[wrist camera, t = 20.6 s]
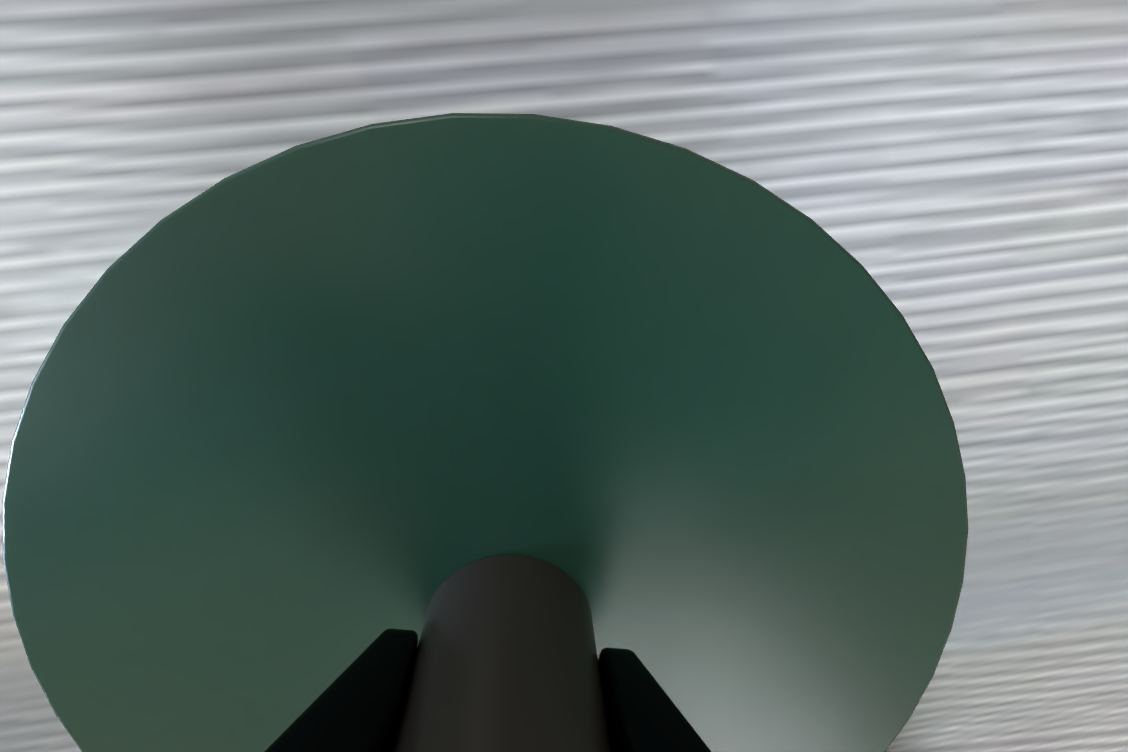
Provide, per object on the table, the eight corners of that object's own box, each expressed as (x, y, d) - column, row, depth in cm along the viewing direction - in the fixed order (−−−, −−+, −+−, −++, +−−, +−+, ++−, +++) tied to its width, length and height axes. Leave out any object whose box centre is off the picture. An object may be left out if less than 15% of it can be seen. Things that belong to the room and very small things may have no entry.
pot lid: (-170, 587, 8) (-998, 1036, 4) (546, -174, 6) (585, -1214, 2) (492, 998, 11) (468, 1479, 7) (1092, 611, 9) (1574, 962, 5)
